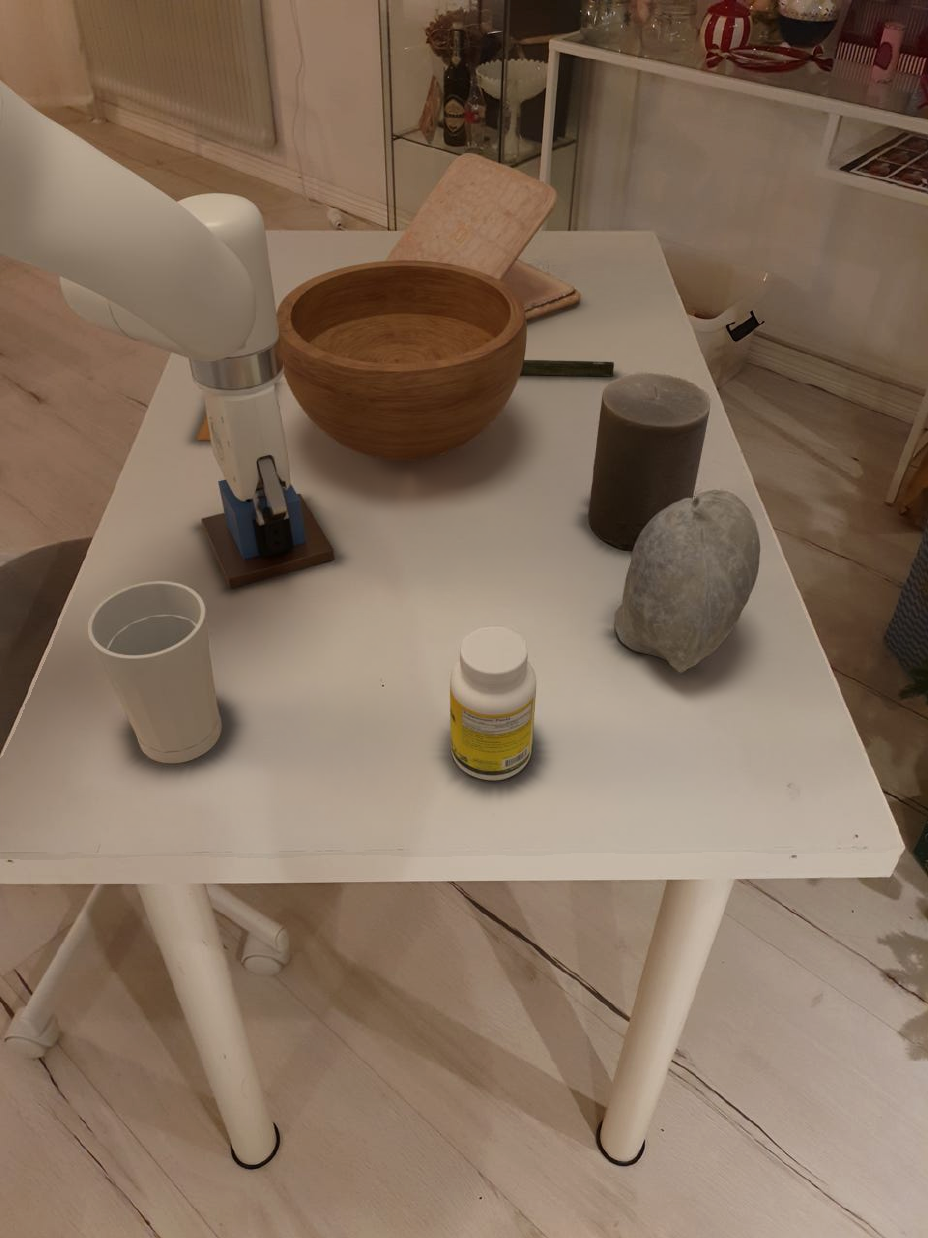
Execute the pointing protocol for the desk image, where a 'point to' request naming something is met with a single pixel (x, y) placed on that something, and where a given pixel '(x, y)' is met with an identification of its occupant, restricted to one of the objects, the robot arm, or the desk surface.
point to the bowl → (402, 354)
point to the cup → (160, 667)
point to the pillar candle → (645, 452)
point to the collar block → (243, 516)
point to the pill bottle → (492, 704)
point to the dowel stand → (270, 566)
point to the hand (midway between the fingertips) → (265, 530)
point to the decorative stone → (689, 578)
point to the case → (487, 229)
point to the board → (204, 431)
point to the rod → (567, 368)
